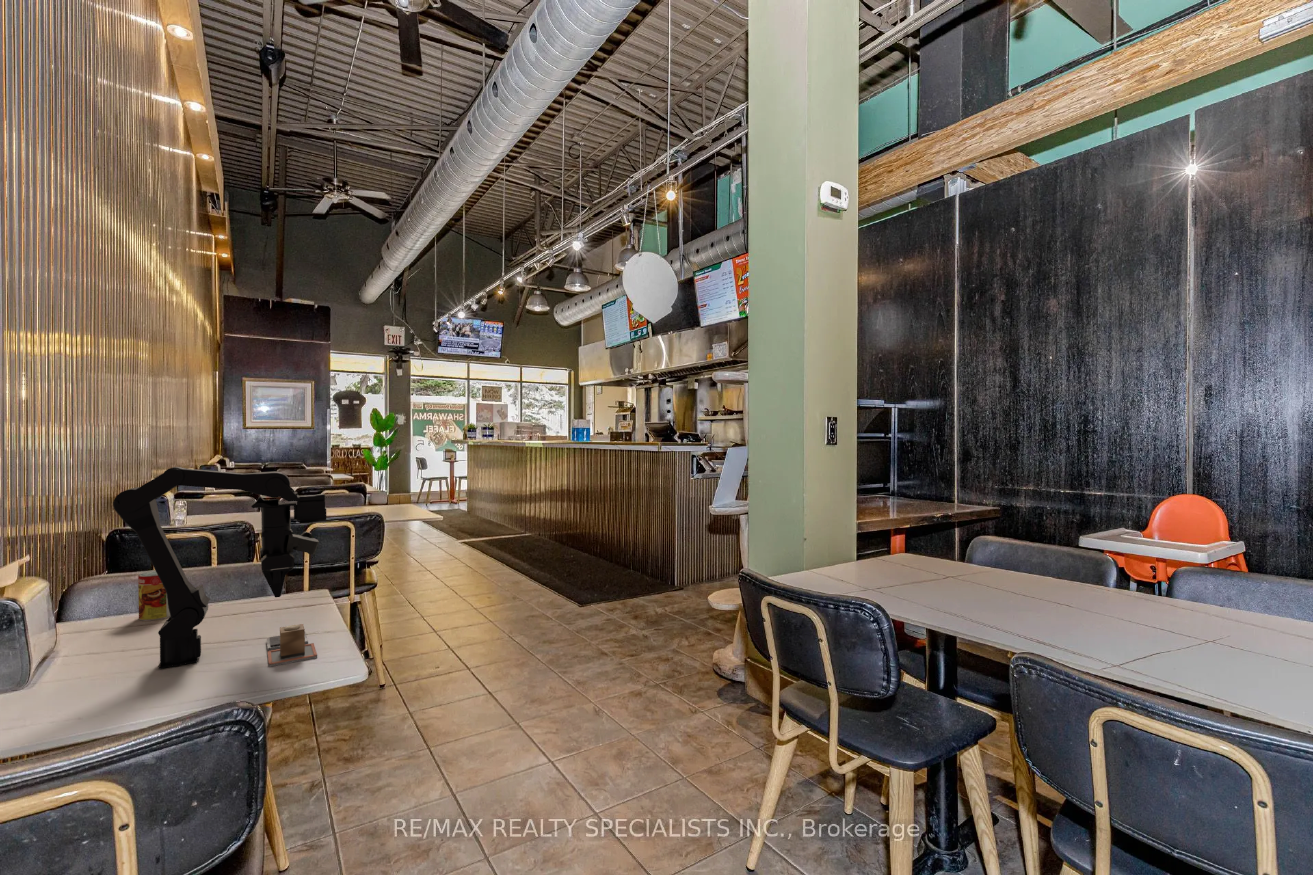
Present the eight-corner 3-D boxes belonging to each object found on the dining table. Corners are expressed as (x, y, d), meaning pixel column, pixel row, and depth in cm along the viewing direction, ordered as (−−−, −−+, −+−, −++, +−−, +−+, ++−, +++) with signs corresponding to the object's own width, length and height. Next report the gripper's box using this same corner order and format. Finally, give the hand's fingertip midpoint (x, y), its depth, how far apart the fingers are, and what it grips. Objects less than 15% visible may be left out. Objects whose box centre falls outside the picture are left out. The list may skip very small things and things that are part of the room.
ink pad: (267, 651, 136) (267, 646, 136) (266, 641, 143) (266, 636, 143) (308, 644, 140) (308, 639, 140) (305, 634, 147) (305, 630, 147)
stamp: (280, 659, 130) (280, 631, 130) (280, 652, 134) (279, 626, 134) (304, 654, 133) (304, 627, 133) (303, 648, 137) (303, 622, 137)
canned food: (144, 614, 165) (144, 570, 165) (180, 610, 168) (179, 567, 168) (134, 622, 158) (133, 576, 158) (171, 618, 161) (170, 573, 161)
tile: (268, 666, 127) (268, 663, 127) (267, 653, 135) (267, 651, 135) (317, 657, 132) (317, 654, 132) (313, 645, 140) (313, 642, 140)
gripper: (319, 527, 136) (320, 596, 136) (312, 518, 152) (313, 579, 152) (261, 532, 130) (261, 604, 130) (259, 522, 145) (260, 586, 145)
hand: (277, 592), depth 139 cm, fingers open, 9 cm apart
